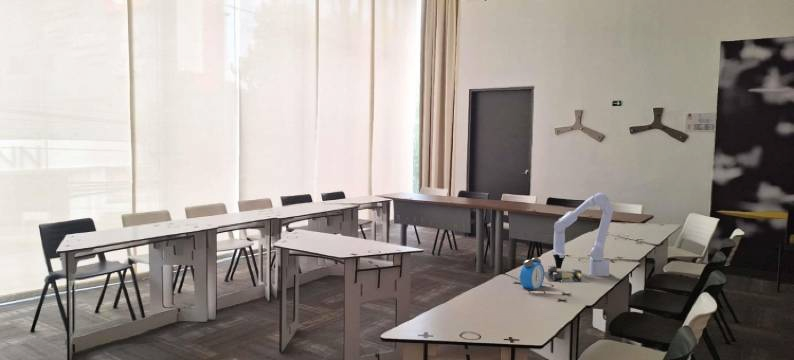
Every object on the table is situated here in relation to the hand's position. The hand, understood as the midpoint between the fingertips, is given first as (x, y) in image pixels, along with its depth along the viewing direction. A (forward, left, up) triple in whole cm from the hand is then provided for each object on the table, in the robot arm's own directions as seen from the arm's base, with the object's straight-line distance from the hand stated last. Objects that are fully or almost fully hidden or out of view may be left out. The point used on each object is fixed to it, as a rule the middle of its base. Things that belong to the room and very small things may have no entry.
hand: (558, 268), depth 284 cm
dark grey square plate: (0, +12, -3) cm, 12 cm away
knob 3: (-6, +15, -1) cm, 16 cm away
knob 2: (+2, +18, -1) cm, 18 cm away
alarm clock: (+20, +32, -3) cm, 38 cm away
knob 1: (+4, +3, -1) cm, 5 cm away
